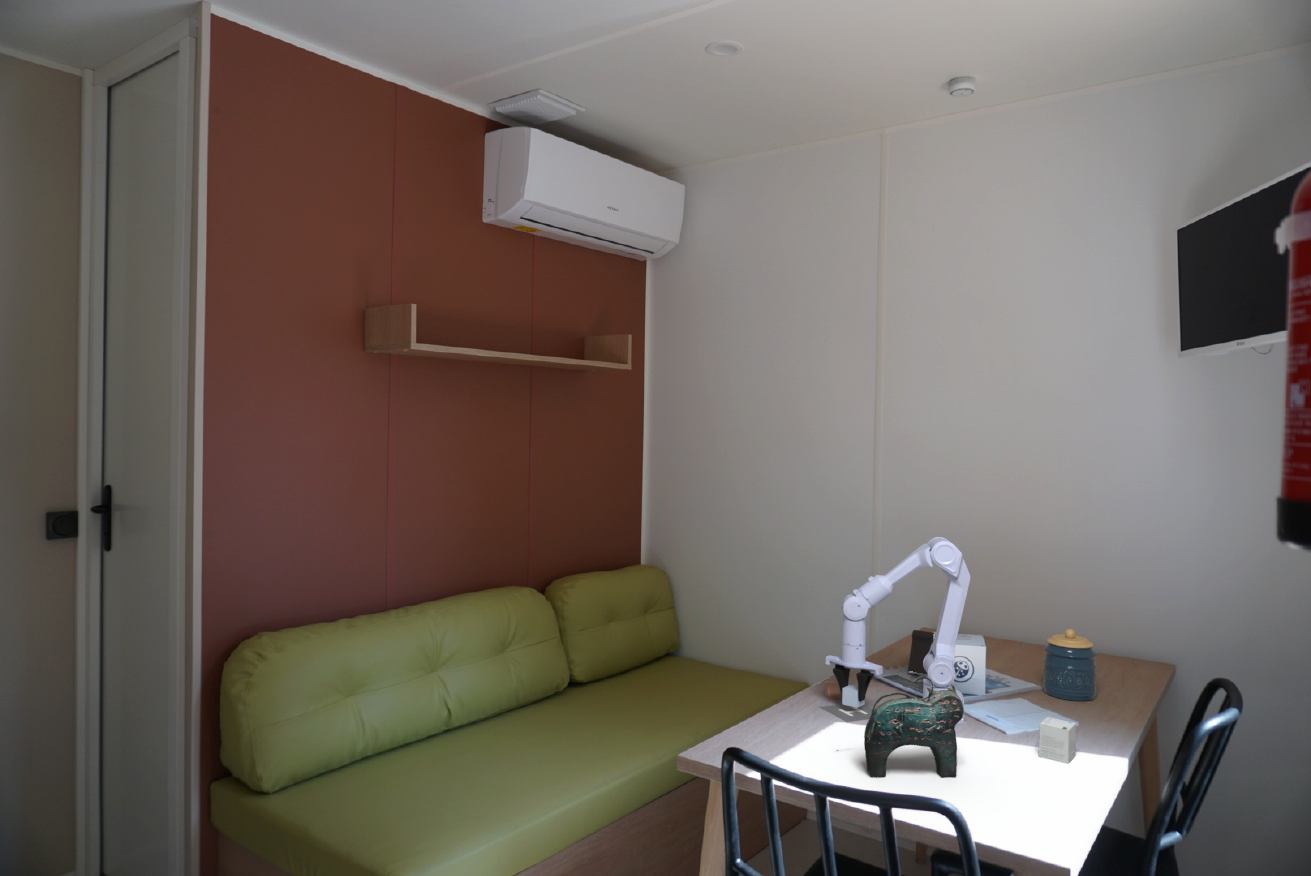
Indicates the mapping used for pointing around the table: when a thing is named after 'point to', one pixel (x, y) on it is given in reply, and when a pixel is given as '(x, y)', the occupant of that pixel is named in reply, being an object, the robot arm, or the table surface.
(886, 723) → the green animal figurine
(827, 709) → the board
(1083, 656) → the canister
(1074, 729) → the skincare box
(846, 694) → the pale blue cube
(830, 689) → the terracotta block
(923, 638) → the phone stand
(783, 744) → the table surface
